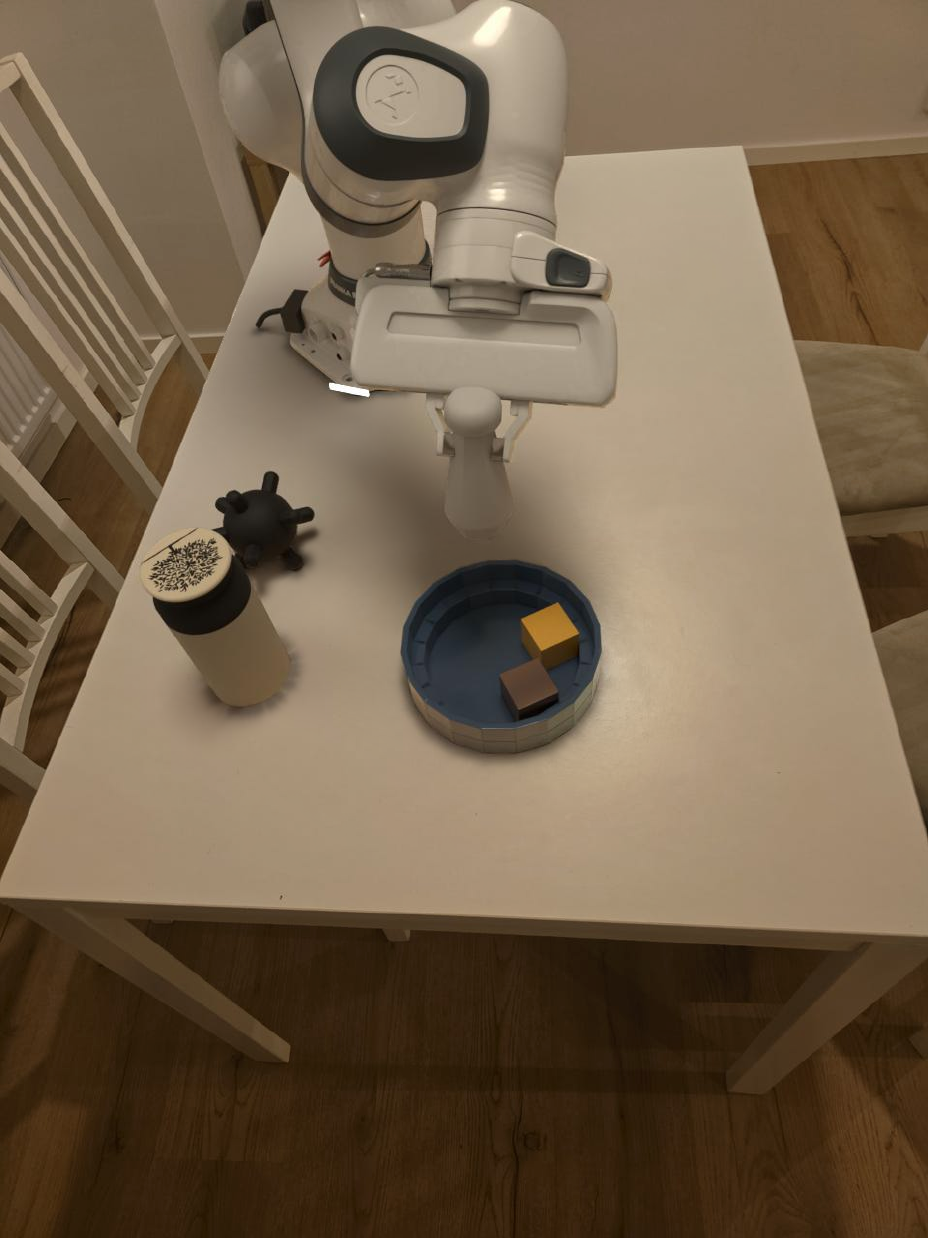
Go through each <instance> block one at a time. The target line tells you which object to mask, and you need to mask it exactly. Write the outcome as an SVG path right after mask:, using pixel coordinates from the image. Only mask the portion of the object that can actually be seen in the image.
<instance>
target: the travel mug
mask: <svg viewBox="0 0 928 1238" xmlns="http://www.w3.org/2000/svg"><path fill="white" fill-rule="evenodd" d="M139 578H140V582H141V585H142V587H143V589H144V590H145V591H146V593H148V594H149V595H150V596H152V604H153V607H154V609H155V611H156V612H157V614H158V616H160V618H161V620H162V621H163V622H164V624H165V625H166V627H167V628H168V629H169V631H170V632H171V634H172V635H173V636H174V638H175V639H176V640H177V642H178V643H179V645H180V646H181V648H182V649H183V651H184V652H185V653H186V655H187V656H188V657H189V659H190V660H191V662H192V663H193V665H194V666H195V667H196V669H197V670H198V671H199V673H200V674H201V677H203V679H204V680H205V681H206V683H207V685H209V687H210V688H211V690H212V692H214V694H215V696H217V698H218V699H219V700H221V701H222V702H223V703H225V704H227V705H231V706H233V707H238V708H243V707H250V706H253V705H257V704H261V703H263V702H265V701H267V700H269V698H271V697H273V696H274V695H275V694H277V692H279V691H280V689H281V688H282V687H283V686H284V684H285V683H286V680H287V679H288V676H289V673H290V669H291V659H290V655H289V653H288V651H287V649H286V648H285V645H284V644H283V641H282V640H281V639H282V638H280V636H279V633H278V631H277V630H276V627H275V626H274V623H273V622H272V619H271V618H270V616H269V614H268V612H267V610H266V608H265V606H264V604H263V602H262V600H261V598H260V596H259V595H258V592H257V590H256V589H255V587H254V585H253V582H252V581H251V579H250V577H249V575H248V573H247V571H246V568H245V569H244V567H243V565H242V563H241V562H240V561H239V559H238V558H236V557H235V554H233V553H232V548H231V547H230V545H229V544H228V542H227V541H226V540H225V538H224V537H223V536H221V535H220V534H219V533H217V532H215V531H212V530H211V529H209V528H204V527H189V528H188V527H187V528H184V529H180V530H176V531H174V532H172V533H169V534H167V535H166V536H164V537H162V538H160V539H159V540H158V541H157V542H156V543H155V544H154V545H152V546H151V547H150V548H149V550H148V551H147V552H146V554H145V556H144V557H143V559H142V562H141V564H140V569H139Z"/></svg>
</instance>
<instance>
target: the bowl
mask: <svg viewBox="0 0 928 1238" xmlns="http://www.w3.org/2000/svg"><path fill="white" fill-rule="evenodd" d="M556 603H559V605H560V606H561V607H562V609H563V610H564V612H565V613H566V615H567V616H568V618H569V619H570V621H571V622H572V623H573V625H574V626H575V628H576V629H577V631H578V632H579V646H578V656H576V657H574V658H572V659H570V660H568V661H565V662H563V663H561V664H559V665H557V666H555V667H553V668H550V669H548V670H546V671H547V673H548V674H549V676H550V678H551V679H552V681H553V683H554V684H555V686H556V688H557V689H558V691H559V702H558V703H556V704H555V705H553V706H551V707H550V708H548V709H547V710H545V711H544V712H542V713H541V714H539V715H537V716H534V717H530V718H527V719H523V720H520V721H516V722H515V720H514V719H513V717H512V715H511V713H510V711H509V709H508V708H507V706H506V704H505V702H504V700H503V699H502V697H501V690H500V680H499V675H500V674H502V673H504V672H507V671H509V670H511V669H513V668H516V667H518V666H520V665H522V664H525V663H527V662H529V661H532V660H533V659H532V657H531V655H530V654H529V652H528V651H527V649H526V647H525V646H524V644H523V643H522V632H521V619H523V618H525V617H527V616H529V615H531V614H534V613H536V612H538V611H540V610H542V609H545V608H547V607H549V606H551V605H553V604H556ZM400 643H401V644H400V656H401V660H402V665H403V668H404V671H405V676H406V678H407V683H408V687H409V690H410V693H411V697H412V700H413V703H414V705H415V707H416V708H417V710H418V711H419V712H420V714H421V715H422V717H423V718H424V720H425V721H426V722H427V724H428V725H429V727H431V728H432V729H433V730H435V731H436V732H438V734H440V735H442V736H443V737H445V738H446V739H448V740H449V741H451V742H452V743H453V744H455V745H458V746H462V747H465V748H468V749H471V750H474V751H478V752H481V753H484V754H485V753H486V754H519V753H522V752H526V751H528V750H529V751H530V750H532V749H536V748H540V747H543V746H545V745H548V744H550V743H551V742H553V741H554V740H555V739H557V738H559V737H560V736H561V735H563V734H565V733H566V732H568V731H569V730H571V729H572V728H573V727H574V726H575V725H576V724H577V723H578V721H579V720H580V719H581V718H582V716H583V715H584V714H585V712H586V711H587V710H588V708H589V707H590V706H591V704H592V702H593V699H594V696H595V692H596V689H597V686H598V683H599V680H600V671H601V664H602V654H603V647H602V646H603V645H602V628H601V623H600V621H599V619H598V616H597V614H596V612H595V610H594V608H593V605H592V603H591V601H590V599H589V598H588V597H587V596H586V595H585V594H584V593H583V592H582V591H581V590H580V589H579V588H578V587H577V586H576V584H574V582H573V581H572V580H570V579H569V578H567V577H565V576H564V575H561V574H560V573H558V572H557V571H555V570H553V569H551V568H549V567H548V566H545V565H540V564H537V563H532V562H528V561H525V560H521V559H486V560H483V561H482V560H481V561H479V562H475V563H472V564H467V565H464V566H461V567H457V568H456V569H455V570H453V571H451V572H449V573H448V574H446V575H444V576H442V577H441V578H439V579H437V580H436V581H434V582H433V583H432V584H431V585H430V586H429V587H428V588H427V589H426V590H425V591H424V592H423V594H421V595H420V596H419V597H418V598H417V599H416V601H415V602H414V603H413V605H412V607H411V610H410V612H409V613H408V615H407V617H406V619H405V622H404V624H403V626H402V633H401V642H400Z"/></svg>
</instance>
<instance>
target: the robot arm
mask: <svg viewBox="0 0 928 1238" xmlns="http://www.w3.org/2000/svg"><path fill="white" fill-rule="evenodd" d="M267 1H268V5H269V6H270V11H271V13H272V16H273V19H272V20H270V21H268V22H265V23H262V24H260V25H259V26H258V27H257V28H255V29H254V30H252V31H251V32H250V33H248V34H247V35H245V36H244V37H243V38H242V39H241V40H239V41H238V42H237V43H235V44H234V45H233V46H232V47H230V48H229V49H228V50H227V51H225V52H224V54H223V56H222V57H221V61H220V65H219V72H218V93H219V101H220V105H221V109H222V112H223V115H224V117H225V120H226V122H227V124H228V126H229V128H230V129H231V131H232V133H233V134H234V136H235V137H236V138H237V140H238V141H239V143H241V144H242V146H243V147H244V148H245V149H247V150H248V152H250V153H251V154H252V155H254V156H255V157H257V158H258V159H260V160H262V161H264V162H265V163H268V164H271V165H273V166H276V167H279V168H281V169H283V170H285V171H287V172H288V173H289V174H292V175H293V176H294V177H295V178H297V180H299V182H301V184H303V187H304V189H305V192H306V195H307V197H308V199H309V201H310V203H311V204H312V206H313V207H314V209H315V210H316V211H317V212H318V214H319V217H320V220H321V223H322V226H323V229H324V230H323V231H324V233H325V237H326V240H327V245H328V248H329V250H327V251H326V252H325V253H323V254H322V255H321V256H319V257H318V258H317V261H318V262H319V261H321V262H320V263H319V268H322V267H324V266H326V265H327V264H328V269H327V270H328V272H327V274H326V275H325V276H324V277H323V278H321V279H320V280H318V282H316V283H315V284H314V285H313V286H312V287H311V288H310V289H309V290H305V289H297V288H294V289H293V290H292V292H291V294H290V295H289V297H288V298H287V300H286V301H285V302H284V305H283V306H282V307H277V308H270V309H268V310H266V311H264V312H262V313H261V314H260V316H259V317H258V319H257V321H256V323H255V327H256V328H257V329H259V328H261V327H262V325H263V324H264V322H265V320H266V319H268V318H269V317H272V316H276V315H280V318H281V322H282V325H283V328H284V331H285V333H290V336H289V345H290V348H292V349H293V350H294V351H295V352H297V353H298V354H299V355H301V356H302V357H303V358H304V359H305V360H307V361H308V362H309V363H310V364H312V365H313V366H314V367H315V368H316V369H318V371H320V372H321V373H323V374H324V375H325V376H326V377H327V378H328V379H330V380H331V382H329V384H328V385H329V390H333V391H338V392H343V393H347V394H348V395H350V396H351V395H352V396H356V395H358V396H364V397H370V392H373V391H378V390H381V391H391V392H392V391H393V392H404V393H415V394H425V406H424V407H425V410H426V413H427V415H428V417H429V419H430V421H431V424H432V426H433V428H434V430H435V432H436V433H437V439H436V447H435V448H436V449H435V452H436V456H438V457H445V458H446V457H447V458H450V457H455V448H454V446H453V442H452V436H453V432H452V431H451V430H450V429H449V427H448V426H447V424H446V422H445V417H444V412H443V411H444V410H445V402H446V398H447V397H448V396H449V395H450V394H451V393H452V392H453V391H454V390H455V389H457V388H461V387H481V388H485V389H489V390H491V391H493V392H494V393H495V394H496V395H498V396H499V397H500V400H501V401H510V409H509V414H510V416H512V417H515V419H514V420H513V422H512V423H511V425H510V427H509V428H508V429H507V430H506V433H505V434H504V435H503V437H497V438H493V441H492V448H493V451H492V452H491V461H497V462H504V463H507V464H511V463H513V458H514V450H515V440H517V439H518V438H519V437H520V435H521V434H522V432H523V431H524V429H525V428H526V426H527V425H528V424H529V422H530V421H531V419H532V415H533V405H534V403H535V404H544V405H557V406H570V407H579V408H581V407H582V408H583V407H584V408H593V409H594V408H595V409H605V408H607V407H608V406H609V405H610V404H611V403H612V402H613V401H615V399H616V396H617V389H618V388H617V386H618V372H619V371H618V370H619V348H618V331H617V324H616V320H615V316H614V314H613V311H612V309H611V307H610V306H609V305H608V304H607V303H608V302H609V300H610V297H611V294H612V288H613V276H612V273H611V271H610V268H609V267H608V266H607V264H606V263H605V262H604V261H603V260H601V259H599V258H597V257H595V256H593V255H590V254H587V253H584V252H582V251H579V250H577V249H574V248H572V247H570V246H567V245H565V244H562V243H560V242H557V241H556V239H557V231H558V217H557V211H556V190H557V186H558V182H559V180H560V177H561V176H562V175H561V174H562V172H563V169H564V165H565V158H566V157H565V156H566V147H567V146H566V145H567V136H568V135H567V134H568V124H569V123H568V119H569V101H570V99H569V97H570V95H569V94H570V78H569V63H568V56H567V55H568V54H567V50H566V47H565V44H564V41H563V38H562V36H561V34H560V32H559V31H558V29H557V27H556V26H555V25H554V23H552V21H550V20H549V19H548V18H547V17H546V16H545V15H543V14H542V13H541V12H539V11H537V10H536V9H535V8H533V7H531V6H529V5H528V4H525V3H522V2H520V1H517V0H475V1H473V2H471V3H470V4H469V5H467V6H466V7H465V8H463V10H461V11H459V12H458V11H457V9H456V6H455V3H454V2H453V0H267ZM423 202H426V203H430V204H431V205H433V206H434V208H435V210H436V213H435V214H436V215H435V227H434V239H433V240H434V241H433V252H432V251H431V248H430V244H429V242H428V240H427V239H426V236H425V228H424V222H423V221H424V220H423V214H422V208H421V207H422V203H423ZM432 253H433V254H432Z"/></svg>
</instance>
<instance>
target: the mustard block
mask: <svg viewBox="0 0 928 1238" xmlns="http://www.w3.org/2000/svg"><path fill="white" fill-rule="evenodd" d="M521 632H522V643H523V644H524V646H525V647H526V649H527V651H528V652H529V654H530V655H531V657H532V659H533V660H534V659H536V658H539V659H540V661H541V663H542V664H543V666H544V668H545V669H546V670H548V669H550V668H553V667H555V666H557V665H559V664H561V663H563V662H565V661H568V660H570V659H572V658H574V657H576V656H578V646H579V632H578V631H577V629H576V628H575V626H574V625H573V623H572V622H571V621H570V619H569V618H568V616H567V615H566V613H565V612H564V610H563V609H562V607H561V606H560V605H559V603H556V604H553V605H551V606H549V607H547V608H545V609H542V610H540V611H538V612H536V613H534V614H531V615H529V616H527V617H525V618H523V619H521Z"/></svg>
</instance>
